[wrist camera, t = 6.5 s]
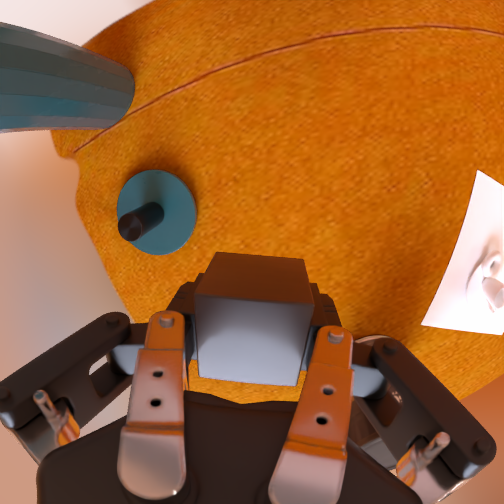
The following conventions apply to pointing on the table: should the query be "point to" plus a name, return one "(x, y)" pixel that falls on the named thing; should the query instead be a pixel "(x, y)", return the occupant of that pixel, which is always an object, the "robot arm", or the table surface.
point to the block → (253, 319)
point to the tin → (58, 84)
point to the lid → (156, 212)
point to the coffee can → (370, 426)
